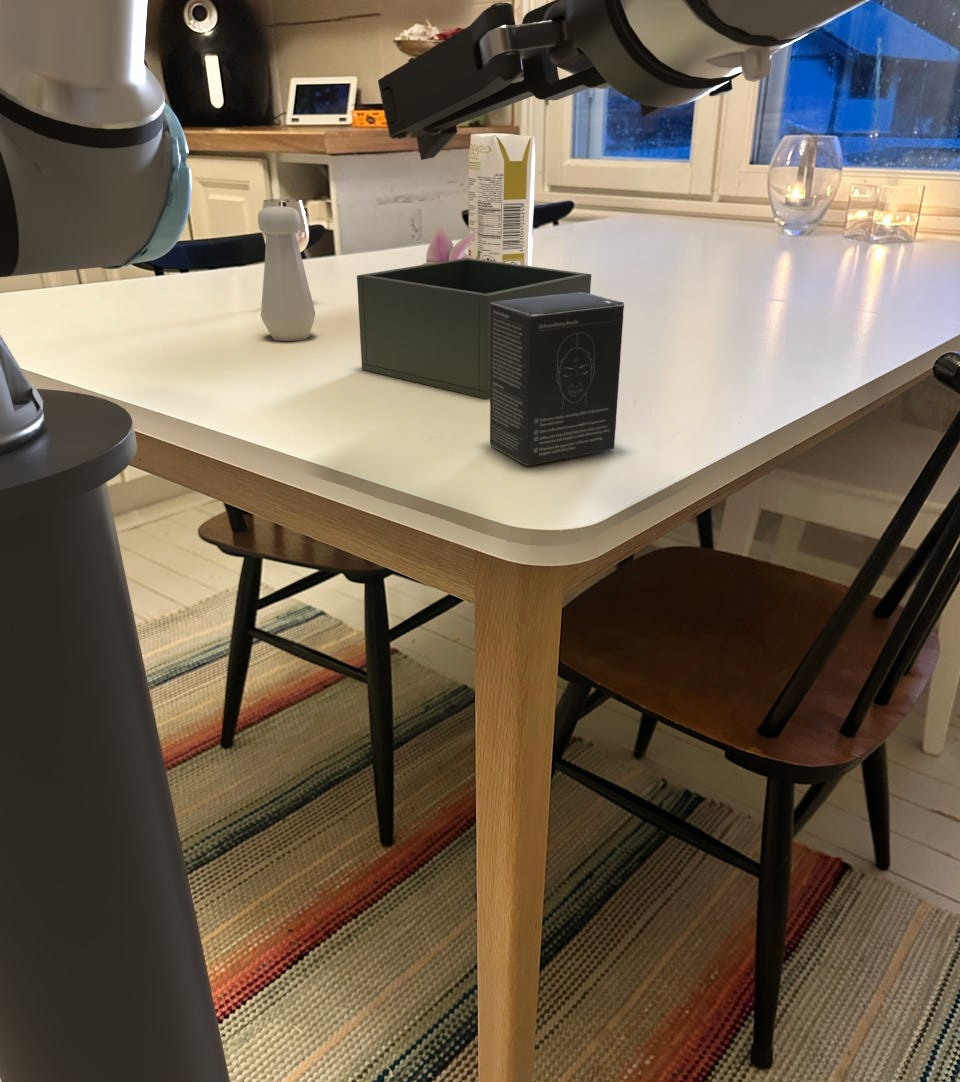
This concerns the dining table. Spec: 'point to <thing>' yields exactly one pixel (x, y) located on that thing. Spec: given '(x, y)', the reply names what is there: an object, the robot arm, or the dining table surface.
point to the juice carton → (501, 197)
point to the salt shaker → (284, 277)
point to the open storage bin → (445, 317)
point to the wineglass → (298, 205)
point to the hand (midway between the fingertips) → (535, 111)
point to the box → (554, 376)
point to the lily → (447, 247)
